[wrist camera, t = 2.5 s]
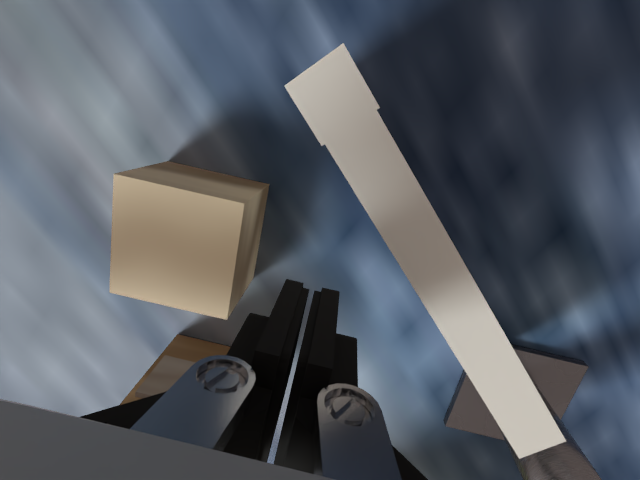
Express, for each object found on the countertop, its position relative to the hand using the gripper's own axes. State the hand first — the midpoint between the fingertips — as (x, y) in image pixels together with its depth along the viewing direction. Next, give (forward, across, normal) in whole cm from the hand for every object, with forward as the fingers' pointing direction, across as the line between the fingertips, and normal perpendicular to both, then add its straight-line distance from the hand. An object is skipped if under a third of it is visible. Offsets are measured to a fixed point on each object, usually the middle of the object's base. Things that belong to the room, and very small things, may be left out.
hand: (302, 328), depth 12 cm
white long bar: (+6, -4, -3) cm, 7 cm away
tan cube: (+6, +5, -1) cm, 8 cm away
